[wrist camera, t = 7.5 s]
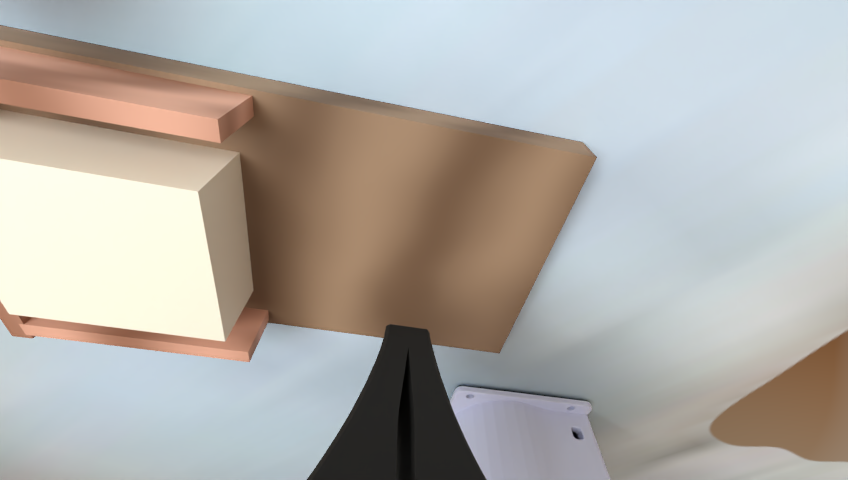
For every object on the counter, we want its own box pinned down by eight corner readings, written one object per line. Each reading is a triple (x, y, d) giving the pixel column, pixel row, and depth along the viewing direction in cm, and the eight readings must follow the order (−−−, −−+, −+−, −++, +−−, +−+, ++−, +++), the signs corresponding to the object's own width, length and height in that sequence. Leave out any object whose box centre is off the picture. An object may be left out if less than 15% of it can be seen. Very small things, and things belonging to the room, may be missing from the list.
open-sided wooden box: (582, 142, 15) (627, 189, 11) (495, 331, 21) (507, 395, 18) (-33, 18, 12) (-197, 33, 9) (83, 274, 19) (12, 335, 16)
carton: (239, 152, 13) (197, 191, 11) (253, 290, 17) (225, 341, 15) (-3, 109, 13) (-107, 140, 10) (70, 264, 17) (9, 314, 14)
